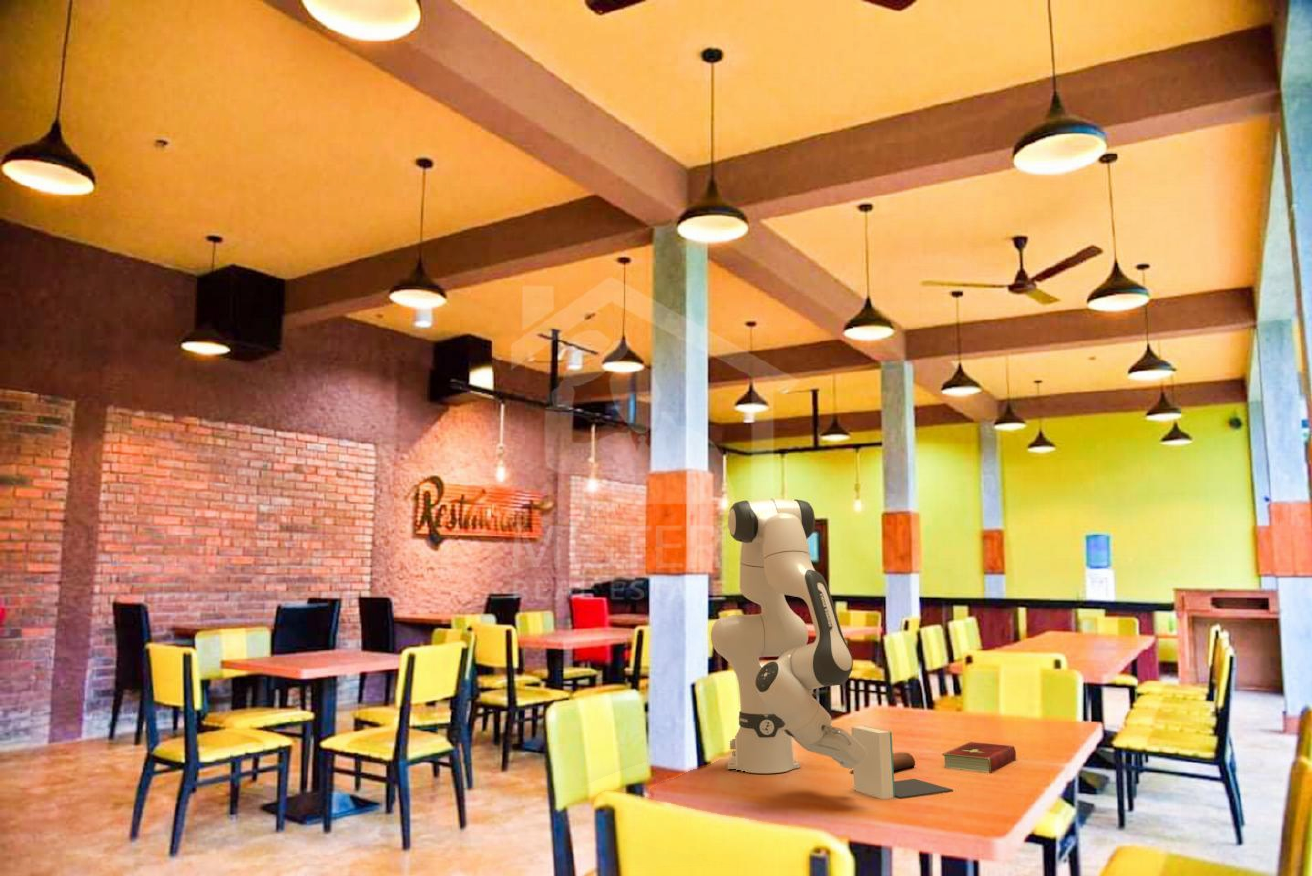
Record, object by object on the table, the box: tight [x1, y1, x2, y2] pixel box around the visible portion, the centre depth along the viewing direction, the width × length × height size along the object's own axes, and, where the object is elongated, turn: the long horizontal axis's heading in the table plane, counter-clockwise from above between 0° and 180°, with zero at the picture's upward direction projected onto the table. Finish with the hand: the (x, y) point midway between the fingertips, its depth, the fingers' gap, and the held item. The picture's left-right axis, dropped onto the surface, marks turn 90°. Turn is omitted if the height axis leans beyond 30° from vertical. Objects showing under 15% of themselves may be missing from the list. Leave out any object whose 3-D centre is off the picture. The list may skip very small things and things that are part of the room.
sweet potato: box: [849, 752, 916, 775], centre depth 228 cm, size 18×7×7 cm, turn 133°
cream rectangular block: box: [850, 725, 896, 800], centre depth 204 cm, size 4×10×14 cm, turn 25°
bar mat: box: [894, 778, 954, 800], centre depth 207 cm, size 15×13×1 cm
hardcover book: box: [941, 741, 1017, 774], centre depth 235 cm, size 12×21×4 cm, turn 142°
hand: (849, 766), depth 201 cm, fingers closed
